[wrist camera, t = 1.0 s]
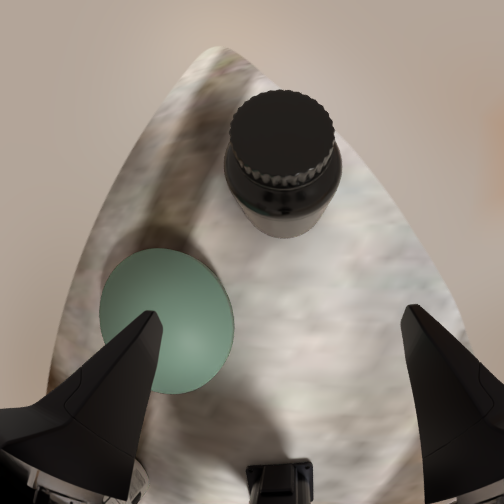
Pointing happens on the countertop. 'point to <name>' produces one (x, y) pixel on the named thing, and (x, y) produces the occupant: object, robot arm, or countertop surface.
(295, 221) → the supplement bottle
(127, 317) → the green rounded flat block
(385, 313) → the countertop surface
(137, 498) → the supplement can
